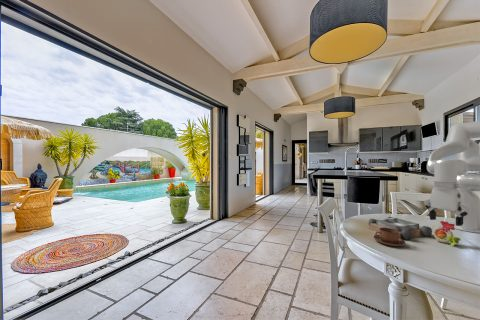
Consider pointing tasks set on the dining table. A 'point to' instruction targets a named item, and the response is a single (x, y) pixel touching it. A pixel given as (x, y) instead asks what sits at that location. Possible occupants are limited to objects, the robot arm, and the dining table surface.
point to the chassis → (401, 227)
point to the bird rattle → (441, 234)
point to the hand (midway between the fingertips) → (445, 222)
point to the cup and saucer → (389, 237)
